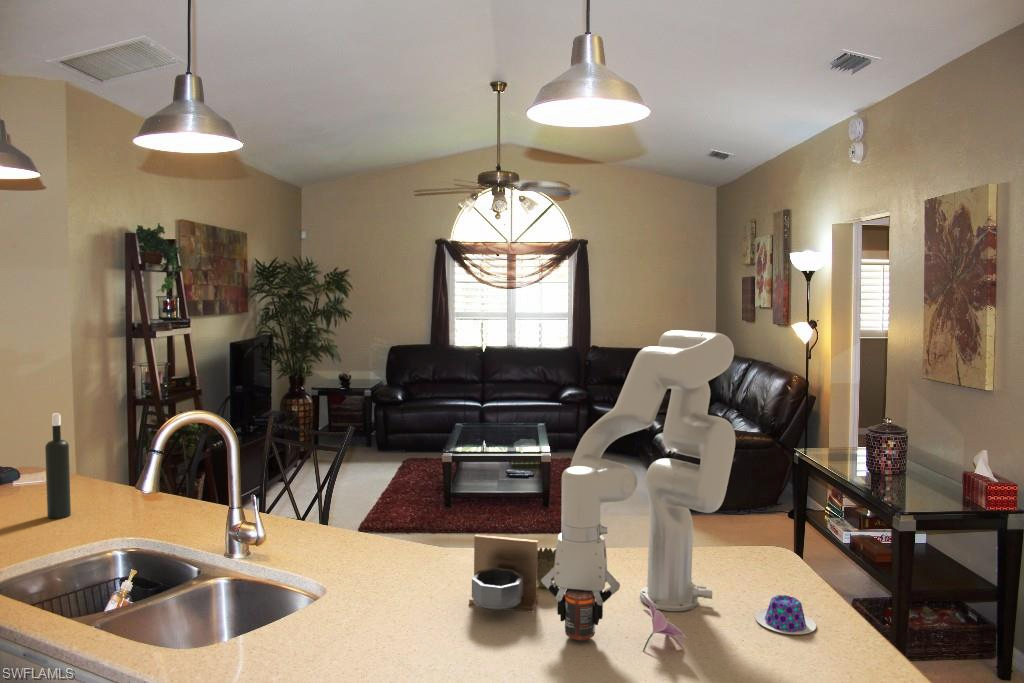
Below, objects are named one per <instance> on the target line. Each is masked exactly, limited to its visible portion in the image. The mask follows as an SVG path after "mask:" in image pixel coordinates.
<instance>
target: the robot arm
mask: <svg viewBox="0 0 1024 683" xmlns="http://www.w3.org/2000/svg"><path fill="white" fill-rule="evenodd" d="M734 356H735V347H734V344H733V341H732V340H731V339H730V338H729V337H728V336H727V335H725V334H724V333H720V332H712V331H711V332H710V331H700V330H698V331H697V330H687V329H676V330H674V329H673V330H669V331H666V332H664V333H663V334H661V336H660V337H659V340H658V345H651V346H647V347H643V348H642V349H640V350H639V351H638V352H637V354H636V356H635V357H634V360H633V362H632V365H631V367H630V369H629V372H628V374H627V376H626V379H625V381H624V384H623V386H622V388H621V391H620V393H619V395H618V398H617V401H616V403H615V405H614V407H613V408H612V409H610V411H608V412H607V413H605V414H604V415H602V416H601V417H600V418H599V419H598V420H597V421H595V423H593V424H592V426H590V427H589V428H588V429H587V430H586V432H585V433H583V435H582V437H581V438H580V441H579V442H578V445H577V447H576V449H575V452H574V454H573V457H572V459H571V463H570V466H569V467H567V468H565V469H564V470H563V472H562V474H561V517H560V518H561V520H560V521H561V522H560V523H561V524H560V525H561V532H560V533H559V534H558V536H557V541H556V547H555V549H556V553H555V564H554V567H553V568H552V569H551V570H550V571H549V572H547V573H546V574H545V575H544V576H543V577H542V579H541V582H542V583H543V584H544V585H545V586H546V587H547V589H548V591H549V593H551V594H552V596H554V598H555V600H556V601H557V615H559V616H560V620H559V621H560V622H565V592H566V590H567V589H579V590H585V591H593V594H594V597H595V605H594V624H595V626H598V625H599V622H600V620H603V618H604V617H603V615H604V614H603V613H604V612H603V610H604V603H605V602H607V601H608V600H609V599H610V598H611V597H612V596H613V595H614V594H616V592H618V591H619V590H620V587H621V583H620V582H618V581H617V579H616V578H615V577H614V576H613V575H612V574H611V573H610V571H608V558H607V555H608V554H607V548H606V541H605V537H604V536H603V535H608V532H609V527H608V526H604V525H603V524H602V521H601V505H602V504H606V503H619V502H623V501H626V500H628V499H629V498H631V497H632V496H633V494H635V492H636V490H637V487H638V477H637V473H636V472H635V471H634V470H633V468H632V467H630V466H628V465H626V464H624V463H622V462H621V463H620V462H616V461H611V460H610V459H606V458H602V456H603V455H604V452H605V451H606V450H607V448H608V447H609V446H610V445H611V444H612V443H614V442H615V441H616V440H618V439H619V438H621V437H624V436H627V435H629V434H633V433H635V432H639V431H642V430H645V429H647V428H649V427H651V426H652V425H653V424H654V423H655V420H656V417H657V414H658V413H659V410H660V407H661V405H662V403H663V399H664V397H665V395H666V392H667V391H668V390H669V389H670V390H671V392H670V398H669V403H668V407H667V410H666V411H667V412H666V416H665V421H664V425H663V429H662V430H663V431H662V443H663V444H664V447H665V448H666V449H667V450H669V451H670V452H673V453H676V454H679V455H683V456H687V457H692V458H697V459H700V461H699V463H700V464H696V463H692V462H690V461H689V462H688V461H683V460H680V459H675V458H668V457H665V458H659V459H657V460H655V461H653V462H652V463H651V464H650V465H649V467H648V469H647V471H646V475H645V487H646V488H645V489H646V494H647V498H648V507H649V508H648V509H649V513H648V514H649V519H648V520H649V521H648V522H649V524H648V525H649V526H648V548H647V549H648V552H647V554H648V555H647V576H646V577H647V579H646V580H647V582H646V583H647V584H646V586H644V587H643V588H641V589H640V591H639V599H640V601H642V603H643V604H645V605H646V606H648V607H649V605H648V603H647V602H646V600H645V599H644V597H643V596H642V595H641V593H642V594H643V595H644V596H645V597H647V598H648V599H649V600H650V601H651V602H652V604H653V605H654V606H655V608H656V610H659V611H666V612H685V611H689V610H692V609H694V608H696V607H697V605H698V602H699V600H698V599H699V598H703V599H711V600H712V599H713V589H710V588H707V585H702V584H701V585H697V584H696V583H694V582H693V579H694V578H693V577H692V574H693V573H692V571H693V568H692V567H693V544H694V542H693V541H694V521H693V516H692V514H691V511H690V510H693V511H696V512H700V513H706V514H711V513H714V512H716V511H718V510H719V509H720V508H721V506H722V505H723V502H724V500H725V497H726V493H727V489H728V488H727V487H728V485H729V479H730V475H731V470H732V465H733V460H734V455H735V450H736V449H735V448H736V432H735V430H734V429H735V428H734V427H733V425H732V424H731V423H730V421H729V420H727V419H726V418H723V417H720V416H718V415H717V416H716V415H710V414H708V413H709V411H708V410H709V407H710V406H709V405H710V399H711V388H710V385H709V381H711V380H713V379H715V378H716V377H718V376H720V375H721V374H723V373H724V372H726V371H727V370H728V369H729V367H730V366H731V365H732V362H733V360H734ZM553 577H554V580H553V581H551V579H552V578H553ZM606 583H607V584H608V585H609V587H608V588H606ZM605 588H606V589H605Z"/></svg>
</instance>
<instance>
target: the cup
mask: <svg viewBox="0 0 1024 683" xmlns="http://www.w3.org/2000/svg"><path fill="white" fill-rule="evenodd" d="M555 553H556V548H555V549H554V550H552V548H551V547H549V548H547V547H545V548H544V549H543V548H542V547H540V548H538V568H537V588H540V589H545V590H546V589H548V588H547V587H546V586H545V585H544V584H543V583H542V582H541V579H542V577H543V576H544V575H545V574H546V573H547V572H549V571H550V570H551V569H552V568H553V567H554V564H555ZM551 581H552V582H554V577H553V578H552V579H551Z"/></svg>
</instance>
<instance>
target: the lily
mask: <svg viewBox="0 0 1024 683" xmlns="http://www.w3.org/2000/svg"><path fill="white" fill-rule="evenodd" d="M641 595H642V596H643V597H644V599H645V600H646V602H647V603H648V605H649V606H648V605H647V606H648V607H649V609H643V610H642V611H643V612H644V613H645V614H647V615H648V616H649V617H651V621H652V622H651V623H652V631H651V634H650V635H649V636H648V639H646V640H647V641H646V642H645V644H644V647H643V649H642V651H643V652H645V650H646V648H647V646H648V643H649V642H650V639H651V638H652V636H653V635H654V634H661V635H665V636H667V637H670V638H672V639H673V641H675V643H676V644H678V646H679V647H680V649H681V650H683V651H685V649H684V647H683V645H682V643H681V642H680V640H679V637H680V638H684V639H686V640H688V637H687V636H686V635H685V634H684V633H683V631H682V630H681V629H679V627H678V626H676V625H675V624H673V623H672V622H670V621H669V620H670V618H666V617H665V616H664V614H663V613H662V612H661V610H660V609H656V608H655V606H654V605H653V604H652V602H651V601H650V600H649V599H648V598H647V597H645V596H644V595H643V594H642V593H641ZM677 637H678V638H677Z"/></svg>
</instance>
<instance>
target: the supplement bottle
mask: <svg viewBox="0 0 1024 683" xmlns="http://www.w3.org/2000/svg"><path fill="white" fill-rule="evenodd" d="M564 594H565V620H564V632H565V635H566V636H567V638H570V639H572V640H574V641H586V640H591V639H592V638H593V637H594V636H595V635H596V625H595V624H594V605H595V601H596V599H595V597H594V594H593V591H585V590H579V589H566V591H565V593H564Z"/></svg>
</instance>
